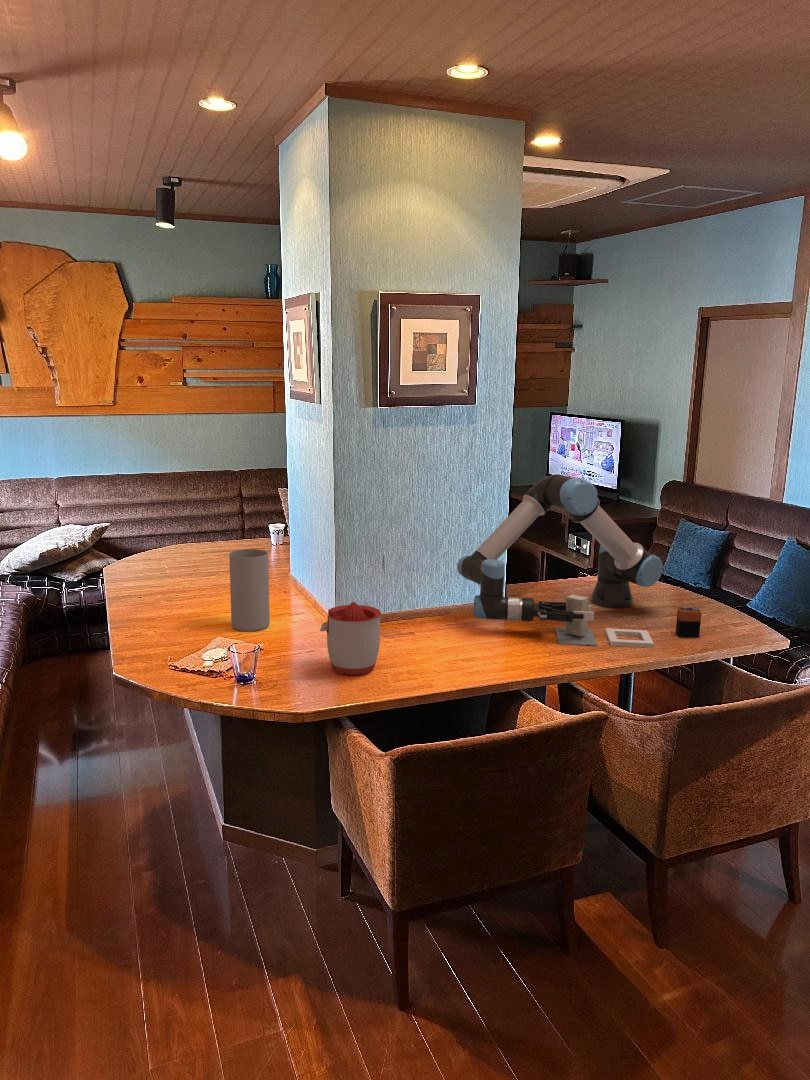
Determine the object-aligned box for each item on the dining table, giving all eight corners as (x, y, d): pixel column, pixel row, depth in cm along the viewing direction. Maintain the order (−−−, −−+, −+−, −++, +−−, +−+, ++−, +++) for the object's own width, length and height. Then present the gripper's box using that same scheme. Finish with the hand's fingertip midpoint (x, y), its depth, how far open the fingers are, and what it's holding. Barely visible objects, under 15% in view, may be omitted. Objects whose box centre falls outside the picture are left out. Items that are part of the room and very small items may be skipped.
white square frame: (605, 632, 270) (605, 628, 269) (646, 634, 268) (646, 630, 268) (610, 645, 257) (610, 641, 256) (653, 648, 255) (654, 643, 255)
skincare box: (587, 633, 264) (590, 597, 261) (580, 636, 260) (583, 600, 258) (570, 629, 268) (572, 593, 265) (563, 632, 265) (565, 596, 262)
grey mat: (555, 628, 273) (555, 627, 273) (591, 630, 272) (591, 629, 271) (558, 644, 257) (558, 642, 257) (596, 646, 256) (596, 644, 256)
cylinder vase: (224, 629, 266) (221, 555, 261) (243, 619, 278) (241, 547, 273) (258, 634, 262) (256, 558, 257) (276, 623, 274) (275, 550, 269)
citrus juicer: (320, 659, 240) (320, 594, 236) (379, 659, 242) (380, 594, 237) (319, 679, 225) (318, 610, 221) (381, 678, 226) (382, 609, 222)
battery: (675, 633, 270) (677, 604, 268) (696, 634, 270) (698, 605, 268) (678, 637, 266) (680, 608, 264) (699, 638, 266) (702, 609, 263)
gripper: (519, 611, 275) (588, 615, 272) (520, 629, 256) (595, 633, 253) (521, 590, 274) (590, 593, 271) (522, 606, 254) (596, 610, 252)
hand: (592, 613), depth 262 cm, fingers closed on skincare box, 7 cm apart
